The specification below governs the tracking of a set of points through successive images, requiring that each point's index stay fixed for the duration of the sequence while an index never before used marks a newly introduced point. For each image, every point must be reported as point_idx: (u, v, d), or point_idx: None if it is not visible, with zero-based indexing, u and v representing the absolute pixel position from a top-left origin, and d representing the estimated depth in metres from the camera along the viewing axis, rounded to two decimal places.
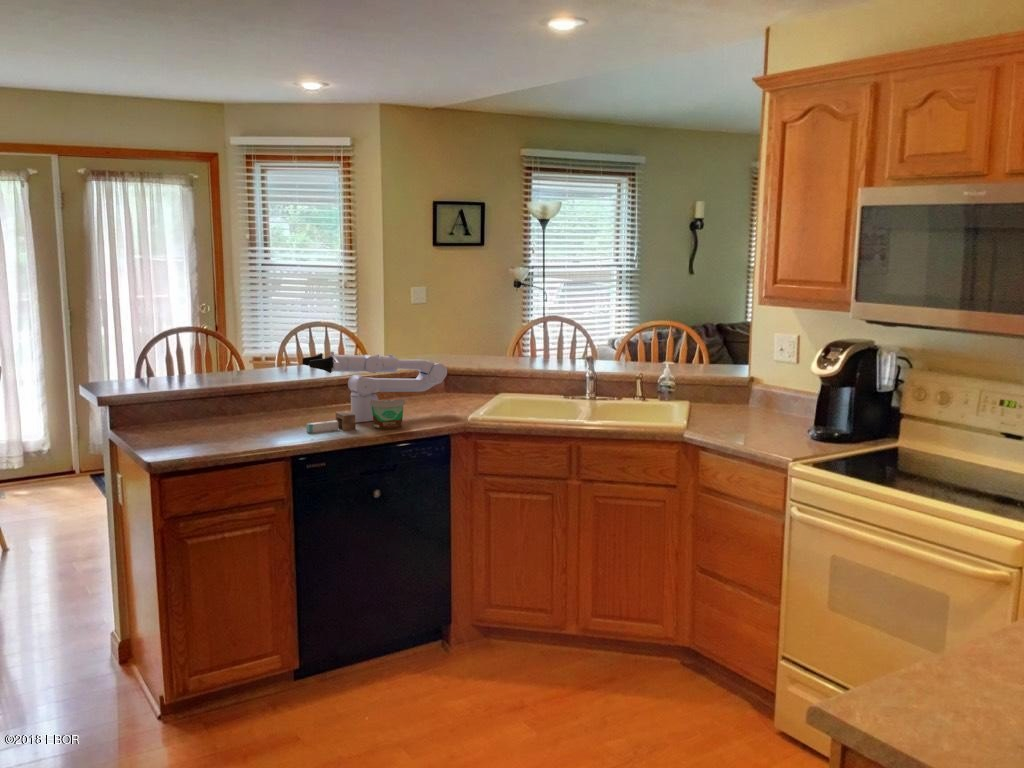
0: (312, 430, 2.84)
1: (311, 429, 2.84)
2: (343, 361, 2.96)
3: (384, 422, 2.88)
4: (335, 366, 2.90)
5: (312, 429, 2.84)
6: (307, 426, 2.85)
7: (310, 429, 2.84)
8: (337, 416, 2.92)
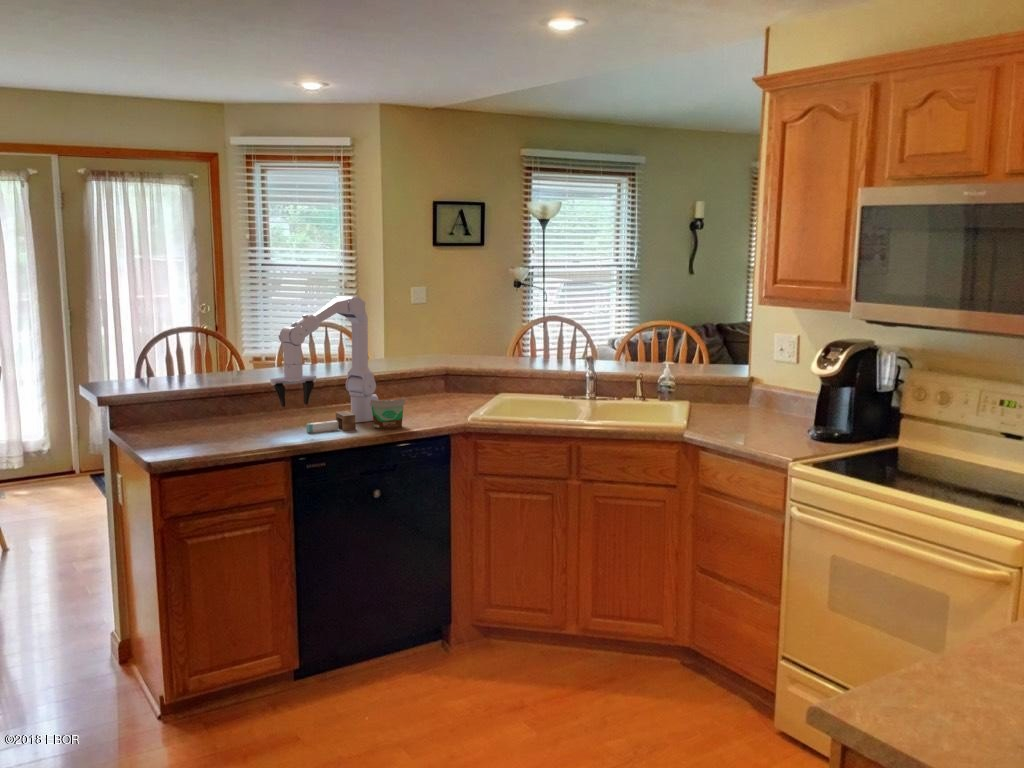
0: (312, 430, 2.84)
1: (311, 429, 2.84)
2: None
3: (384, 422, 2.88)
4: None
5: (312, 429, 2.84)
6: (307, 426, 2.85)
7: (310, 429, 2.84)
8: (337, 416, 2.92)
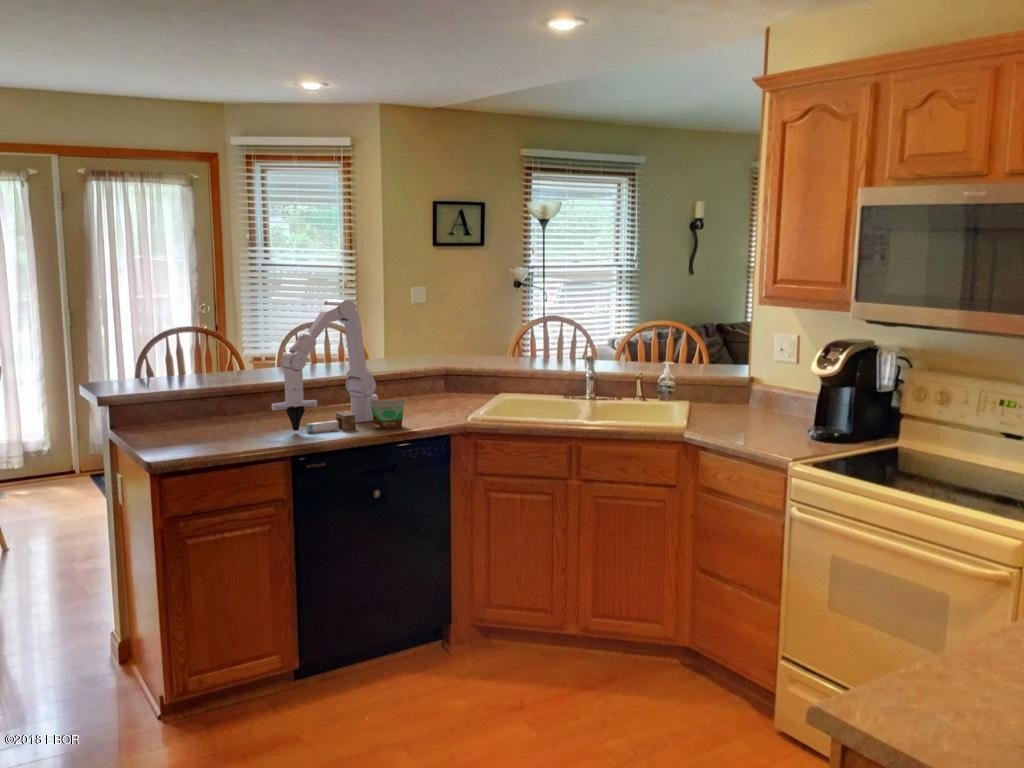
0: (312, 430, 2.84)
1: (311, 429, 2.84)
2: None
3: (384, 422, 2.88)
4: None
5: (312, 429, 2.84)
6: (307, 426, 2.85)
7: (310, 429, 2.84)
8: (337, 416, 2.92)
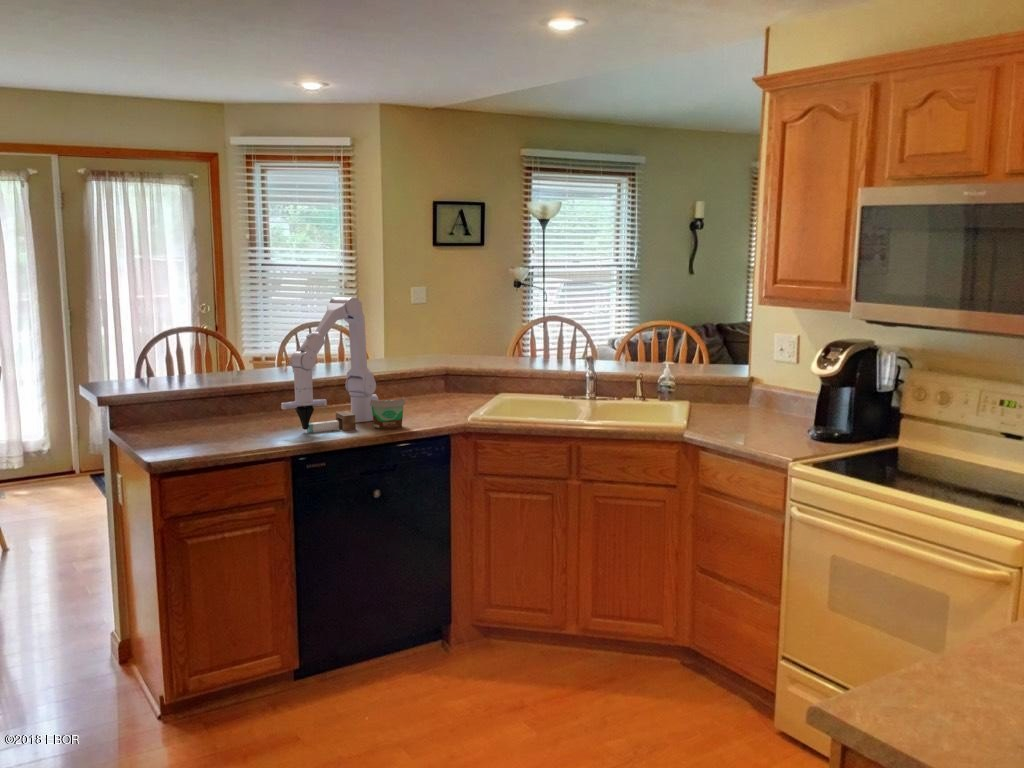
0: (312, 430, 2.84)
1: (311, 429, 2.84)
2: (312, 392, 2.83)
3: (384, 422, 2.88)
4: None
5: (312, 429, 2.84)
6: None
7: (310, 429, 2.84)
8: (337, 416, 2.92)
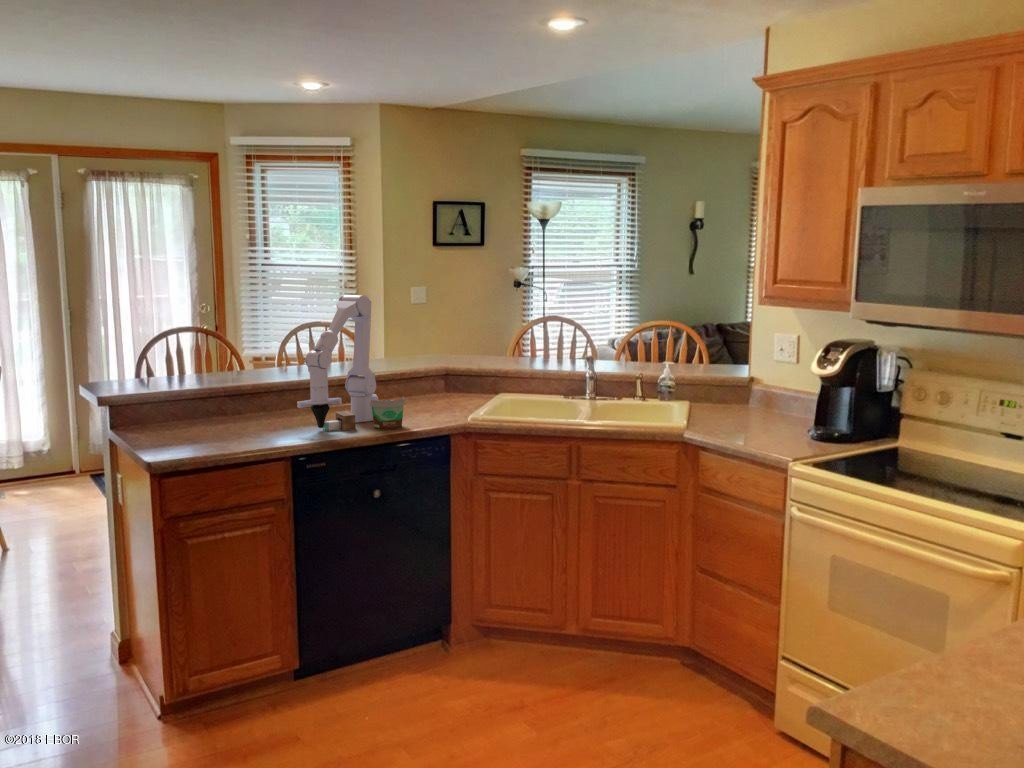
0: (328, 428, 2.87)
1: (327, 427, 2.87)
2: None
3: (384, 422, 2.88)
4: None
5: (328, 427, 2.87)
6: None
7: (326, 427, 2.87)
8: (337, 416, 2.92)
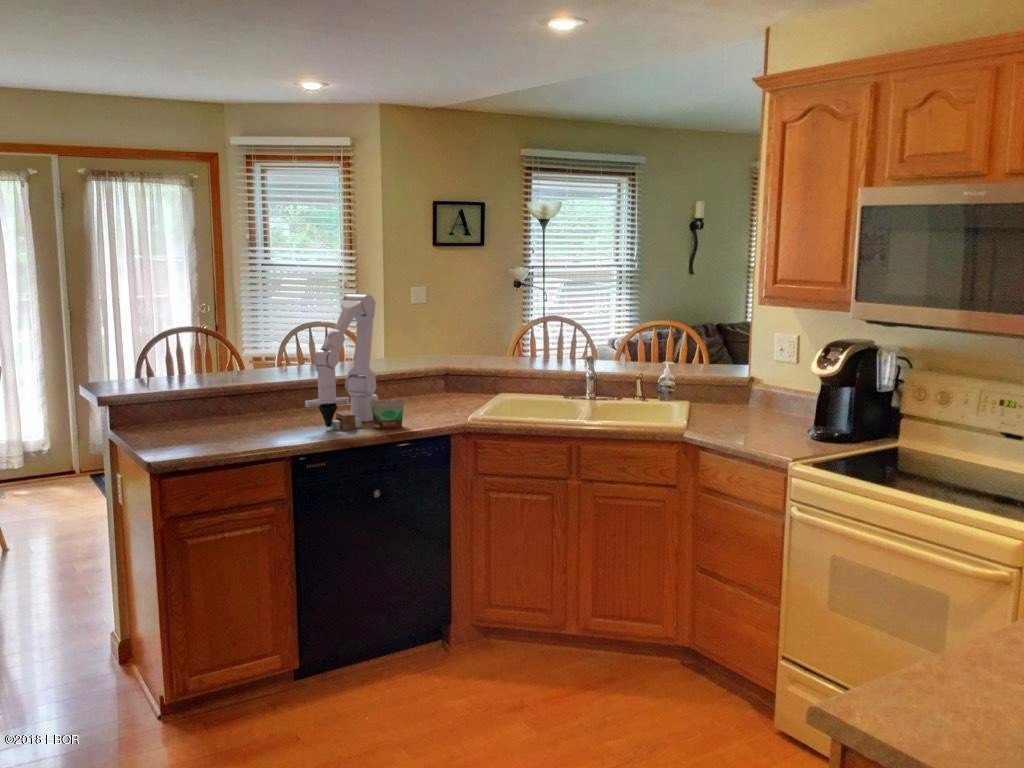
0: (336, 427, 2.88)
1: (335, 426, 2.88)
2: (335, 390, 2.87)
3: (384, 422, 2.88)
4: None
5: (336, 426, 2.88)
6: None
7: (334, 426, 2.88)
8: (337, 416, 2.92)
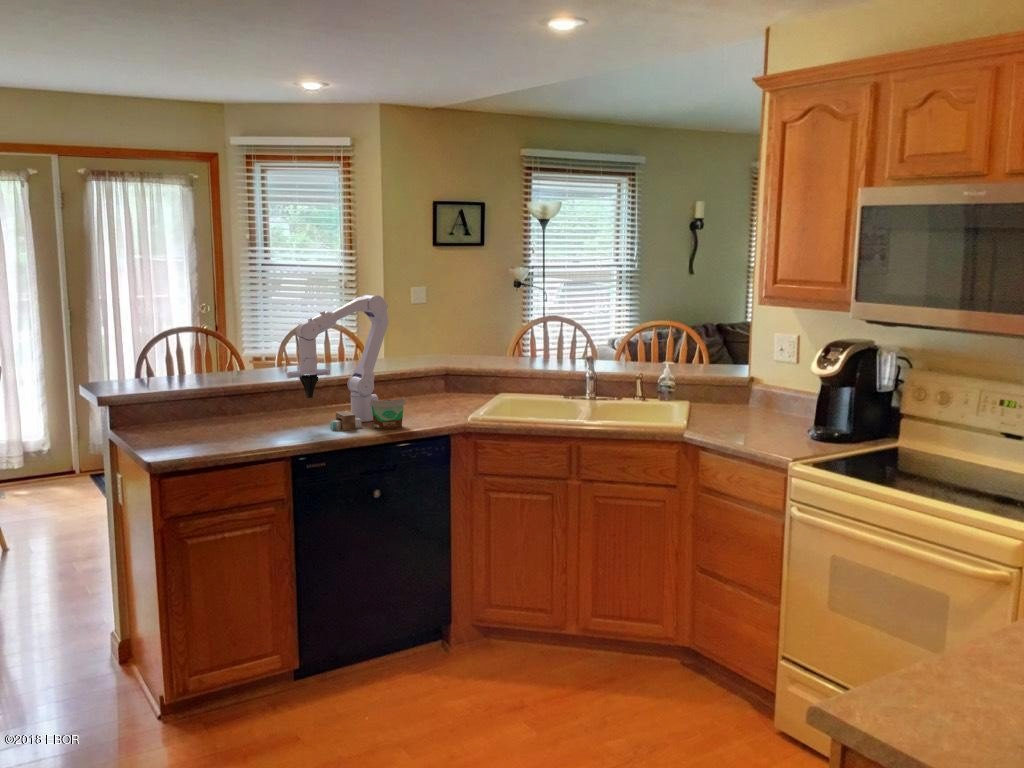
0: (336, 427, 2.88)
1: (335, 426, 2.88)
2: (316, 361, 2.92)
3: (384, 422, 2.88)
4: None
5: (336, 426, 2.88)
6: (331, 423, 2.89)
7: (334, 426, 2.88)
8: (337, 416, 2.92)
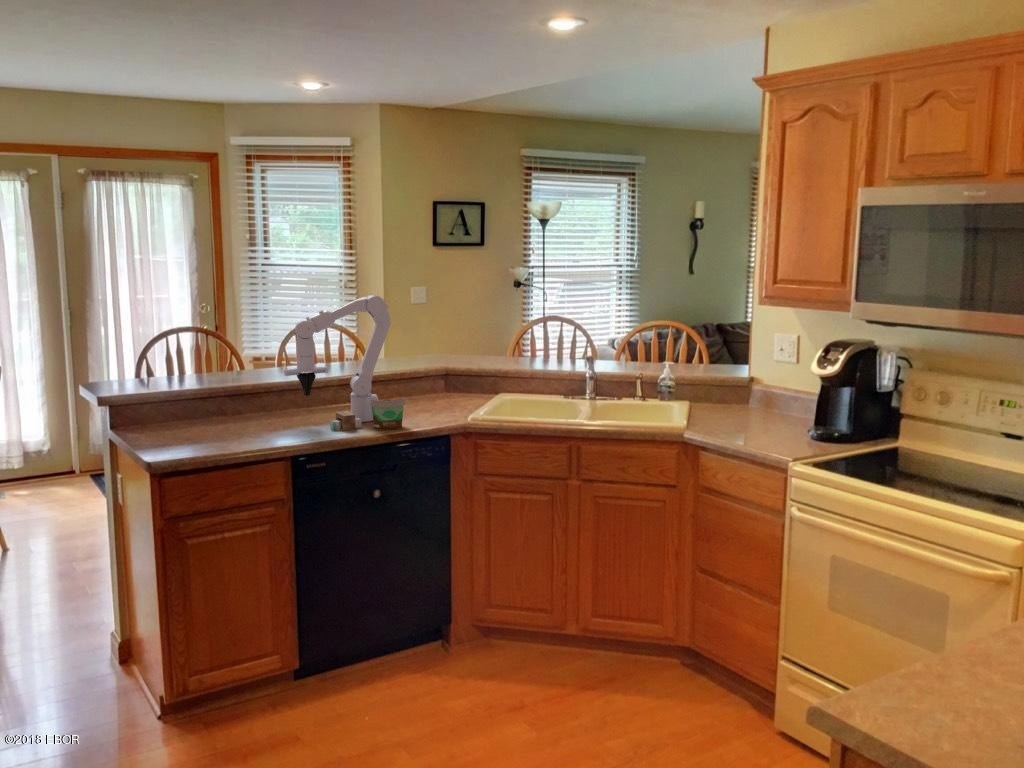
0: (336, 427, 2.88)
1: (335, 426, 2.88)
2: None
3: (384, 422, 2.88)
4: None
5: (336, 426, 2.88)
6: (331, 423, 2.89)
7: (334, 426, 2.88)
8: (337, 416, 2.92)
